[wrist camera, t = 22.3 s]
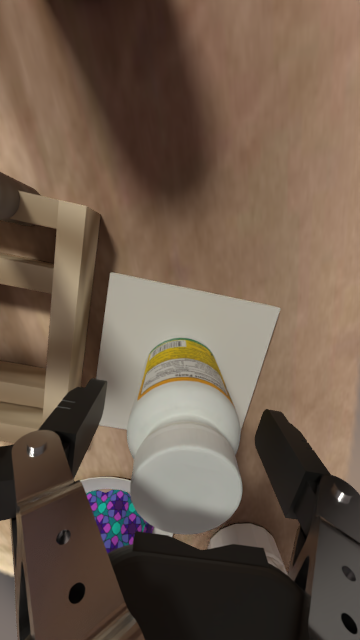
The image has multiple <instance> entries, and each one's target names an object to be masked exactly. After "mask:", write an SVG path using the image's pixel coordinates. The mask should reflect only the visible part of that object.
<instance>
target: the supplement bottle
mask: <svg viewBox="0 0 360 640" xmlns="http://www.w3.org/2000/svg"><path fill="white" fill-rule="evenodd" d="M240 435H241V432H240V422H239V418H238V415H237V412H236V410H235V406H234V404H233V402H232V399H231V397H230V395H229V392H228V390H227V387H226V385H225V382H224V380H223V377H222V375H221V372H220V370H219V367H218V365H217V362H216V360H215V358H214V355H213V353H212V352H211V350H210V349H209V348H208V347H207V346H206V345H205V344H204V343H202V342H201V341H199V340H197V339H195V338H192V337H187V336H175V337H170V338H167V339H165V340H163V341H161V342H159V343H158V344H157V345H156V346H155V347H154V348H153V349H152V350H151V351H150V353H149V354H148V356H147V358H146V361H145V364H144V368H143V371H142V375H141V378H140V382H139V386H138V389H137V393H136V396H135V399H134V403H133V406H132V409H131V413H130V416H129V420H128V425H127V441H128V446H129V450H130V452H131V455H132V457H133V459H134V465H133V472H132V478H131V485H130V494H131V500H132V503H133V505H134V508H135V509H136V511H137V513H138V514H139V515H140V516H141V517H142V518H143V519H144V520H145V521H146V522H148V523H149V524H150V525H152V526H154V527H156V528H158V529H160V530H162V531H165V532H169V533H174V534H198V533H202V532H206V531H209V530H211V529H214V528H216V527H218V526H219V525H221V524H222V523H224V522H225V521H227V520H228V519H229V518H230V517H231V516H232V515H233V514H234V512H235V511H236V509H237V507H238V506H239V503H240V501H241V497H242V480H241V475H240V472H239V468H238V464H237V461H236V457H235V455H236V453H237V450H238V447H239V443H240Z"/></svg>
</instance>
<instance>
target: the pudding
mask: <svg viewBox="0 0 360 640" xmlns="http://www.w3.org/2000/svg"><path fill="white" fill-rule="evenodd" d="M81 483H82V485H83V487H84V490H85V492H86V493H87V492H88V493H87V494H86V495H87V498H88V501H89V503H90V506H91V509H92V512H93V515H94V517H95V520H96V523H97V526H98V529H99V531H100V534H101V537H102V540H103V542H104V545H105V548H106V551H107V554H108V553H109V552H111V551H113V550H115V549H117V548H120V547H123V546H126V545H131V544H133V539H134V535H135V531H138V532H146V533H152V531H153V534H161V535H168V536H170V537H172V536H173V533H169V532H165V531H162V530H160V529H158V528H156V527H154V526H152V525H150V524H149V523H148V522H146V521H145V520H144V519H143V518H142V517H141V516H140V515H139V514H138V513H137V511H136V509H135V508H134V505H133V503H132V500H131V496H130V495H129V493H130V485H131V481H130V480H127V479H122V478H116V477H96V478H88V479H84V480H81ZM97 489H118V490H111V491H109V492H107V493H104V492H101V491H98V490H97ZM93 490H97V491H93ZM122 490H123V491H122ZM90 491H91V492H90ZM124 491H126V492H124ZM127 492H129V493H127ZM153 527H154V530H153Z"/></svg>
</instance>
